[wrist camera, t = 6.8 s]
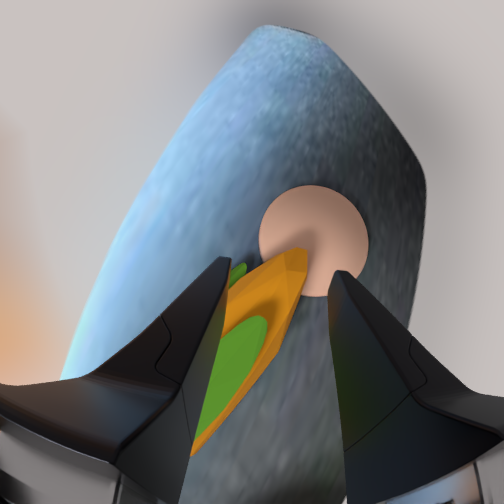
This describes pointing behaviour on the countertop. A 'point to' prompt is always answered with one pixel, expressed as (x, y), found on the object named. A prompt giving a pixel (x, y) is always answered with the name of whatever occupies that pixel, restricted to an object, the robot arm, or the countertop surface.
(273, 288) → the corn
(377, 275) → the countertop surface
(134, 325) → the countertop surface
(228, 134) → the countertop surface
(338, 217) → the pink flat disc
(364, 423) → the robot arm
